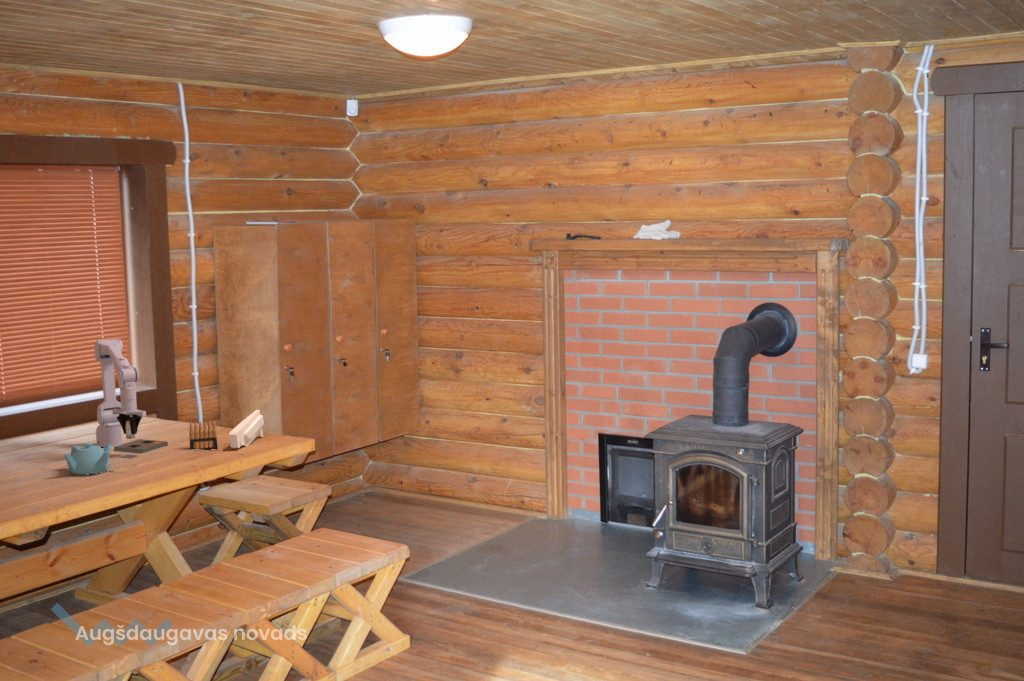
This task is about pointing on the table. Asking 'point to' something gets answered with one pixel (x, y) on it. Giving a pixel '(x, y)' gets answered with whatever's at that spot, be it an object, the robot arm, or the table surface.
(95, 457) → the teapot
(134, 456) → the tab
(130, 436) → the steel peg
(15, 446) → the table surface
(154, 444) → the plate
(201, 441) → the ammunition clip
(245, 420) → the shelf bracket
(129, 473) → the table surface
